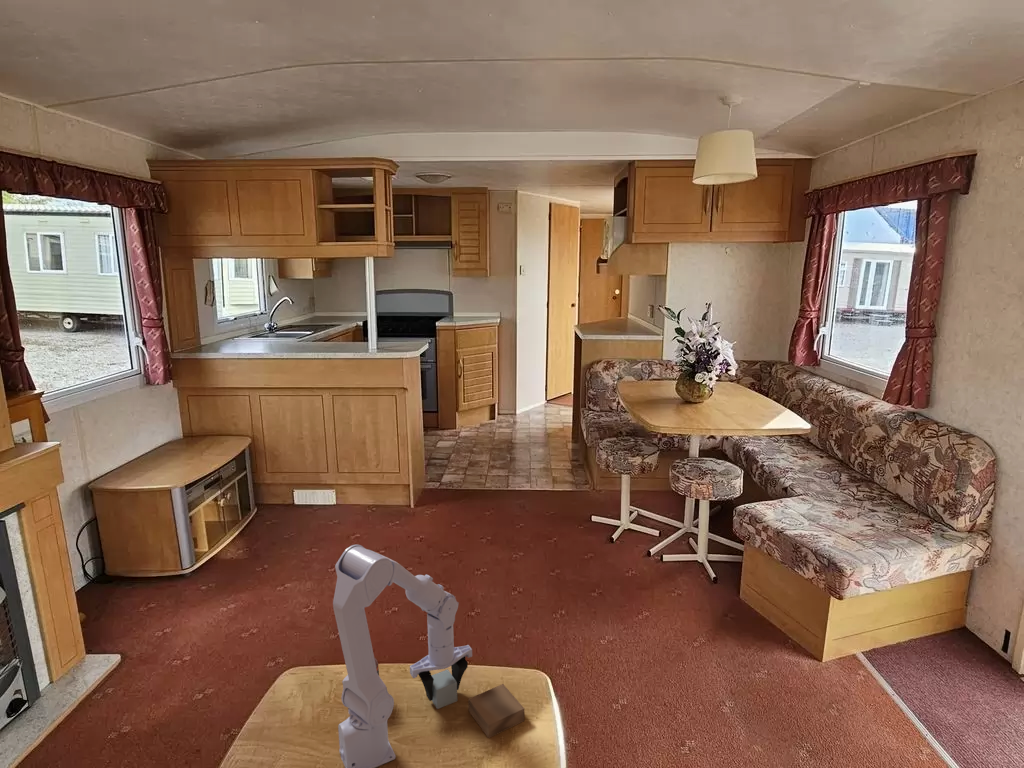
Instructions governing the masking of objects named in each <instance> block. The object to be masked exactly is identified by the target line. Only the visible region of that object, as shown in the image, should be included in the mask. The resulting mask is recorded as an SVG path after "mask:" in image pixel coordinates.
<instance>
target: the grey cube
mask: <svg viewBox="0 0 1024 768" xmlns="http://www.w3.org/2000/svg"><path fill="white" fill-rule="evenodd" d="M431 676H432V677H433V679H434V681H433V688H432V691H433V700H431V702H432V704H433V705H434V707H435V708H436V710H438V709H441V708H444V707H446V706H448V705H451V704H453V703H456V702H458V690H457V682H456V680H455V679H454V677H453V676H452V672H450V670H449V669H448V668H446V669H444V670H443V671H440V672H437V673H434V674H431Z"/></svg>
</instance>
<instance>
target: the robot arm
mask: <svg viewBox="0 0 1024 768" xmlns="http://www.w3.org/2000/svg"><path fill="white" fill-rule="evenodd" d="M334 568H335V573H336V576H337V578H336V583H335V590H334V595H333V600H332V607H333V608H332V609H333V613H334V616H335V622H336V627H337V630H338V636H339V639H340V640H339V641H340V644H341V649H342V654H343V658H344V662H345V666H346V667H345V668H346V673H347V675H346V676H345V677H344V678H343V679H342V693H341V698H340V699H341V702H342V705H344V707H346V708H348V711H347V712H348V715H349V716H348V717H347V718H346V719H345V720H344V721H342V722H340V723H339V724H338V725H337V727H338V728H337V729H338V743H339V750H338V752H339V754H340V759H341V761H342V763H343V766H344V768H378V767H380V766H383V765H384V764H388V763H389V762H391V761H393V760H395V759H396V754H395V751H394V749H393V748H392V745H391V743H390V741H389V733H388V731H389V730H388V719H389V718H390V717H391V715H392V713H393V709H394V706H395V705H394V704H395V701H394V700H395V699H394V697H393V696H392V695H391V694H390V693H389V691H388V687H387V686H386V684H385V682H384V681H383V679H382V678H381V676H380V674H379V675H378V673H377V669H376V664H375V659H374V658H375V654H374V650H373V646H372V645H373V644H372V639H371V635H370V634H371V633H370V630H369V624H368V619H367V614H366V611H365V608H368V607H370V606H371V605H372V603H373V602H374V601H375V600H376V599H377V598H378V596H380V594H381V593H382V592H383V591H384V589H385V588H386V587H390V586H392V585H393V583H394V584H395V585H397V586H399V587H400V588H402V589H404V591H405V595H406V598H407V600H408V601H410V602H412V603H413V604H414V605H415V606H417V607H418V608H420V609H421V611H423V612H426V613H427V614H426V617H427V618H426V619H427V622H426V623H427V645H428V654H427V655H426V656H423V657H422V658H421V659H420V660H418V661H417V662H415V663H413V664H411V665H409V674H410V675H411V677H412V679H416V678H418V676H419V678H420V680H421V682H422V684H423V687H424V690H425V695H426V698H427V699H428V700H429V701H430V702H432V700H433V691H432V688H433V681H434V679H433V677H432V676H431V675H432V673H431V671H437V670H446V669H448V668H450V667H451V675H452V676H453V677H454V679H455V680H456V682H457V691H458V690H459V689H460V685H461V681H462V678H463V675H464V673H465V672H466V670H467V669H468V668H469V667H468V666H469V663H468V661H467V660H466V657H467V659H469V658H472V657H473V648H472V647H471V646H470V645H469V644H467V645H462V646H455V645H454V641H455V640H454V638H455V637H454V624H455V621H456V613H457V611H458V608H459V603H460V602H458V601H457V599H456V596H455V595H454V594H453V593H450V592H448V591H446V590H444V586H443V585H442V584H439V583H438V584H436V583H435V582H434V578H433V577H432V576H430V575H429V574H425V575H423V574H417V575H414V574H412V572H410V571H409V570H407V568H406V567H404V566H403V565H402V564H401V563H398V561H395V560H393V559H391V558H389V557H387V556H385V555H382V553H381V554H380V553H378V552H376V551H375V550H374V551H373V550H371V549H367V548H365V547H364V546H363V545H361V544H351V545H350V546H349V547H346V549H345V550H344V551H343V552H342V554H341V555H340V557H339V558H338V561H336V563H335V566H334Z"/></svg>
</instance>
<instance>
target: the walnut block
mask: <svg viewBox="0 0 1024 768" xmlns="http://www.w3.org/2000/svg"><path fill="white" fill-rule="evenodd" d="M467 702H468V713H469V714H470V715H471V717H472V718H473V719H474V721H475V722H476V723H477V724H478V726H479V727H480V729H481V730H482V732H484V734H485V735H486V737H487V738H488V739H490V738H492V737H494V736H497V735H498V734H500V733H502V732H504V731H507V730H508V729H511V728H512V727H514V726H517V725H518V724H520V723H522V722H524V721H525V707H524V706H523V705H522V704H521V702H519V700H518V699H517V698H516V697H515V695H513V693H512V692H511V691H510V689H508V688H507V687H506V685H505V684H504V683H502V684H499V685H496V686H495V687H492V688H490V689H489V690H485V691H483V692H481V693H479V694H475V695H474V696H472V697H469V698H468V701H467Z"/></svg>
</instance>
